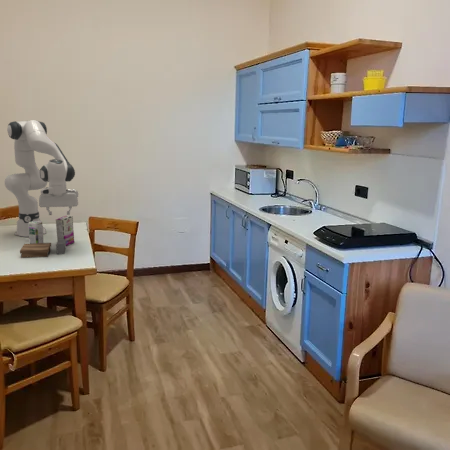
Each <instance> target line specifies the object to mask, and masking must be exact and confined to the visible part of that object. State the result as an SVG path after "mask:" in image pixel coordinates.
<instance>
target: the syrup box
mask: <svg viewBox="0 0 450 450" xmlns="http://www.w3.org/2000/svg"><path fill="white" fill-rule="evenodd" d="M43 227H44V224H43V221H42V222H39V221H31V222H29V223H28V228H29V236H28V238H29V239H28V240H29V244H34V243H45V242H44V234H43Z"/></svg>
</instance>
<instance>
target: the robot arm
mask: <svg viewBox="0 0 450 450" xmlns="http://www.w3.org/2000/svg"><path fill="white" fill-rule="evenodd" d="M7 124H8V125H7V134H8V136H9V138H10V139H11V140H14V142H13V143H14V144H13V145H14V146H13V149H14V161H15V164H16V165H17V166H19V167H21V168H23V169H24V172H22V173H13V174H8V175H7V176H6V177H5V178H4V186H5V188H6V190H8V191H9V192H10V193H12V194H13V195H14V197H16V200H17V204H18V220H17V221H16V231H15V232H14V236H19V237H26V238H27V237H28V238H29V228H28V223H29V222H31V221H39V222H42V223H43V221H42V220H41V218H40V211H39V207H40V208H46V211H47V212H48V216H52V215H53V211H50V208H65V207H67V208H68V210H66V216H71V210H72V209H73V208H74V207H78V205H79V198H78V197H79V191H78V190H76V189H68V188H67V182H68V183H69V182H71V181H72V180H73V179H74V178H75V175H76V170H75V168H74V166H73V165H72V164H71V162H69V160H68V158H67V157H66V156H65V154H64V153H63V151H62V150H61V148H60V147H59V145H58V144H57V143H56V142H54V141H53V140H52V139H50V137H48V135H47V133H48V128H47V125H46V124H45V122H43V121H39V120H35V119H31V120H21V121H15V120H14V121H10V122H9V123H7ZM35 152H37V153H41V154H47V155H49V156H51V157H53V158H54V159H53V158H52V159H50V160H48V163H47V164H44V165H43V166H41V168H38V166H37V164H36V158H35ZM47 185H48V186H47ZM37 190H40V195H39V198H38V200H37V198H36V197H34V196H33V195H30V194H29V191H37ZM72 207H73V208H72ZM45 234H47V232H46V229H45V227H44V226H43V235H45Z"/></svg>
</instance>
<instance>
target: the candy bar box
mask: <svg viewBox="0 0 450 450" xmlns="http://www.w3.org/2000/svg"><path fill="white" fill-rule="evenodd" d="M55 226H56V229H55V230H56V239H57V241H58V239H66V247H67V246H70V245H72V244H74V243H75V235H74V234H75V232H74V218H73V216H72V215H63V216H62V217H59V218H57V219H55Z"/></svg>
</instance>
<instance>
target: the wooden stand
mask: <svg viewBox="0 0 450 450" xmlns="http://www.w3.org/2000/svg"><path fill="white" fill-rule="evenodd" d="M51 247H52V242H44V243H34V244H30V243H24V244H23V245H22V247H21V248H20V250H19V254H21V258H23V259H24V258H41V257H43V258H44V257H45V258H46V257H47V258H48V256H49V252H51Z"/></svg>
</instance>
